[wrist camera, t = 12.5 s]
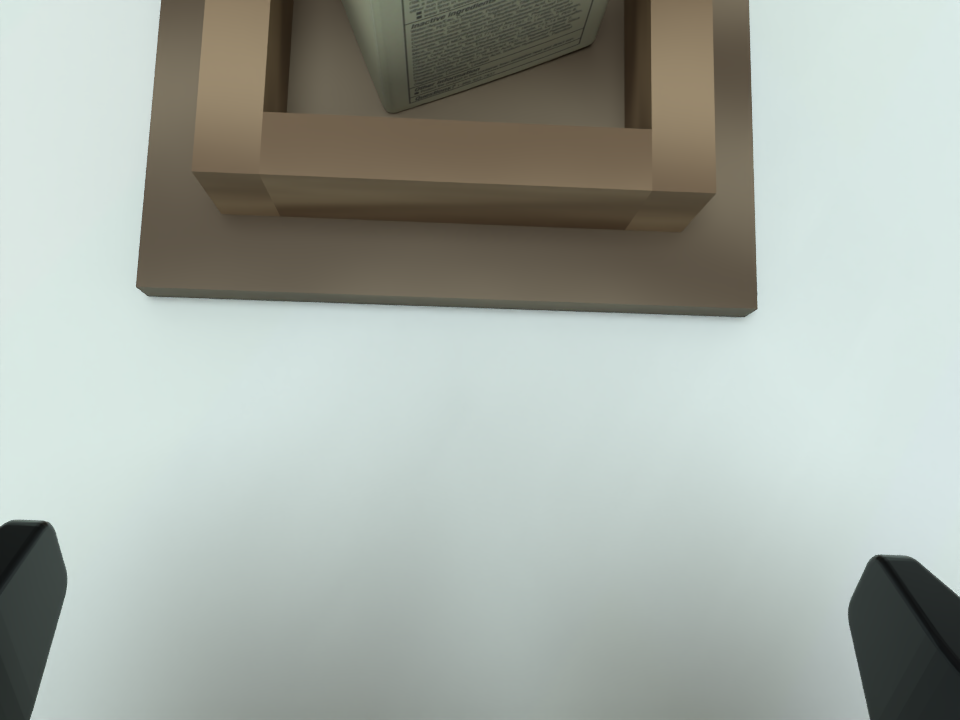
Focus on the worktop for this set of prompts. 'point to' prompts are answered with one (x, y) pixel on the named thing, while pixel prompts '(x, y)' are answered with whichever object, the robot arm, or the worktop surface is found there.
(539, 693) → the worktop surface
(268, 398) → the worktop surface
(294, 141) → the socket
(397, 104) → the skincare box
